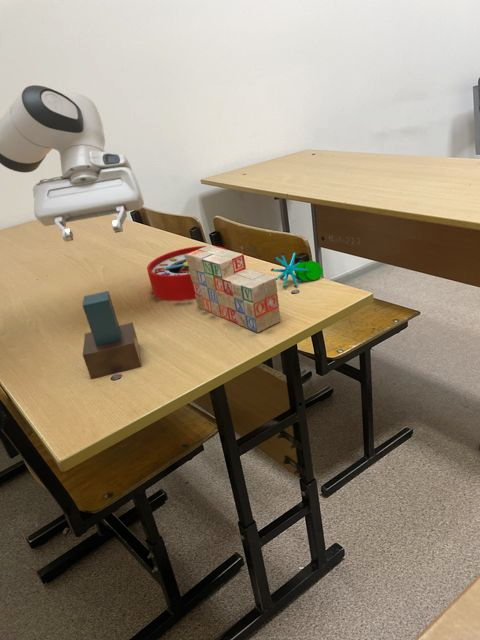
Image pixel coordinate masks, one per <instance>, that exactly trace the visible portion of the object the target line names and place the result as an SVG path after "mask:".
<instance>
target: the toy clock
mask: <svg viewBox="0 0 480 640" xmlns="http://www.w3.org/2000/svg"><path fill="white" fill-rule="evenodd" d="M206 246H207V245H198V246H197V245H196V246H191V247H185V248H179V249H176V250H173V251H170V252H167V253H165V254H162V255H160V256H158V257H156V258H154V259H153V260H151V262H149V264H148V265H147V266H146V271H147V275H148V279H149V282H150V286H151V290H152V294H153V295H154V296H155V297H156V298H157V299H160V300H164V301H165V300H166V301H171V302H172V301H174V302H176V301H178V302H179V301H180V302H181V301H190V300H196V297H195V291H194V287H193V283H192V280H191V276H190V271H189V266H188V263H187V259H186V254H188V253H190V252H193V251H196V250H198V249H201V248H203V247H206ZM213 246H214V247H217V248H221V249H225V250H228V249H227V248H226V247H223V246H218V245H213Z"/></svg>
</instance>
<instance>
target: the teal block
mask: <svg viewBox="0 0 480 640" xmlns="http://www.w3.org/2000/svg"><path fill="white" fill-rule="evenodd" d="M114 307H115V306H114V305H113V301H112V298H111V294H110V292H109V290H106V291H101V292H97V293H93V294H92V293H91V294H89V295H84V296H83V300H82V308H83V312H84V314H85V317H86V320H87V322H88V327H89V329H90V332H92V335H93V338H94V341H95V344H96V346H98V345H102V344H107V343H111V342H115V341H119V340H121V330H120V327H119V326H120V324H119V321H118V317H117V314H116V310H115V308H114Z"/></svg>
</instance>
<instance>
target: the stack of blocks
mask: <svg viewBox="0 0 480 640" xmlns="http://www.w3.org/2000/svg"><path fill="white" fill-rule="evenodd" d="M205 246H206V247H203V248H201V249H198V250H196V251H193V252H190V253H188V254H186V259H187V263H188V266H189V271H190V276H191V280H192V283H193V287H194V291H195V297H196V299H195V301H196V305H197V307H198V308H200V309H202V310H204V311H206V312H208V313H211V314H212V315H214V316H217V317H220V318H222V319H226V320H228V321H230V322H233V323H235V324H237V325H239V326H241V327H243V328H246V329H248V330H250V331H252V332H255V333H260V332H262V331H263V330H266V329H267V328H269V327H272V326H274V325H276V324H278V323H280V322H281V321H282V320H281V312H280V311H281V310H280V305H279V297H278V286H277V280H276V278H277V277H276V276H272V275H269V274H266V273H262V272H260V271H256V270H252V269H249V268H247V266H246V261H245V260H246V259H245V254H243V253H240V252H236V251H232V250H229V249H227V250H225V249H221V248H217V247H214V246H215V245H205Z"/></svg>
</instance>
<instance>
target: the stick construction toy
mask: <svg viewBox="0 0 480 640" xmlns="http://www.w3.org/2000/svg"><path fill="white" fill-rule="evenodd" d="M296 253H297V252H293V253H292V257H291V260H290V262H289V264H288V263H287V259H286V258H285V253H284V252H283V253H281V255H280V256H281V259H280V258H279V257H277V256H276V257H275V258H274V261H277V262H278V263H279V264H280V265H282V266H283V267H284V268H271V269H270V272H276V273H281V274H279V275H278V276H277V277H275V278H276V281H278V280H279V279H280V280H283V279H284V280H283V285H282V288H283V289H285V288H286V286H287V281H288V279H289V276H290V277H291V279H292V281H293V283H294V288H297V287H298V282H300V283H304V282H309V281H316V280H318V279H320V278H321V276H322V275H323V271H324V270H323V268H322V266H321V265H320V264H319V263H318V262H317V261H316V260H315V261H314V260H308V261H303V260H302V259H301V260H300V261H298V262H296V263H295V258H296ZM294 263H295V264H294ZM297 281H298V282H297Z"/></svg>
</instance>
